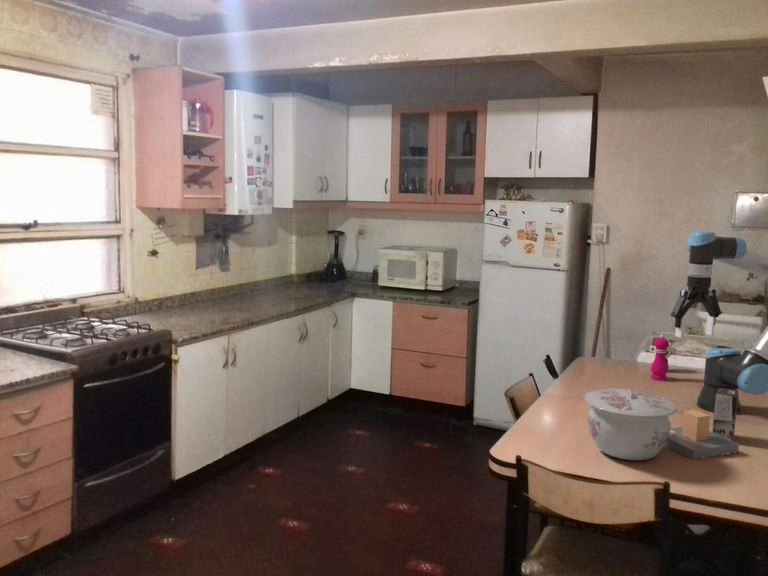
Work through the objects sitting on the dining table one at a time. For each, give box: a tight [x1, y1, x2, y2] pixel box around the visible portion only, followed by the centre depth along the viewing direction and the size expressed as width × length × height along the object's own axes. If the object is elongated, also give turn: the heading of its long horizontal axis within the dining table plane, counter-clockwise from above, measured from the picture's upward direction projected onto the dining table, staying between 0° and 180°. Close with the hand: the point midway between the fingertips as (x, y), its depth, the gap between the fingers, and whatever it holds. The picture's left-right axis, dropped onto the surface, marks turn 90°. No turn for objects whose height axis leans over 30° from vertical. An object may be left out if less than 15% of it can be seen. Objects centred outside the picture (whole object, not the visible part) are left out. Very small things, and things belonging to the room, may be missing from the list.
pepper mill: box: [650, 334, 670, 382], centre depth 299 cm, size 7×7×20 cm
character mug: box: [649, 342, 676, 366], centre depth 313 cm, size 11×7×13 cm, turn 63°
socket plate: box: [664, 426, 740, 460], centre depth 221 cm, size 18×18×4 cm
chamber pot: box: [584, 388, 678, 462], centre depth 213 cm, size 28×28×21 cm
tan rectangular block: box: [681, 409, 711, 441], centre depth 220 cm, size 5×6×10 cm
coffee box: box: [711, 388, 739, 442], centre depth 228 cm, size 9×6×16 cm
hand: (694, 335), depth 239 cm, fingers open, 13 cm apart
